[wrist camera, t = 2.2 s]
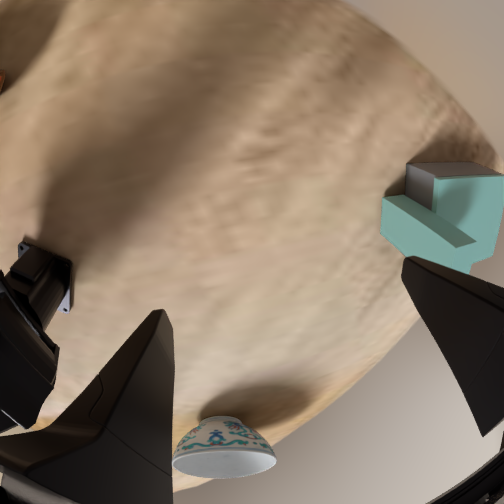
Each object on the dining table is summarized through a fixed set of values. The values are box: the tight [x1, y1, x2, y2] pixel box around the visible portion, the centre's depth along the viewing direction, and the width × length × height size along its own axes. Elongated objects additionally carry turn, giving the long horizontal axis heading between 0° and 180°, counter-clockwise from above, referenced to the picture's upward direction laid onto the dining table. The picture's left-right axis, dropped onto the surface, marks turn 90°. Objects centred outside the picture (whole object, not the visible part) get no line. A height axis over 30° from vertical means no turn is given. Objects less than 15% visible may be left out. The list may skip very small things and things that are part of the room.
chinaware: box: [172, 416, 277, 478], centre depth 34 cm, size 15×15×8 cm
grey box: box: [400, 162, 501, 257], centre depth 22 cm, size 10×9×4 cm
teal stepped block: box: [380, 174, 504, 275], centre depth 19 cm, size 14×9×10 cm, turn 98°
